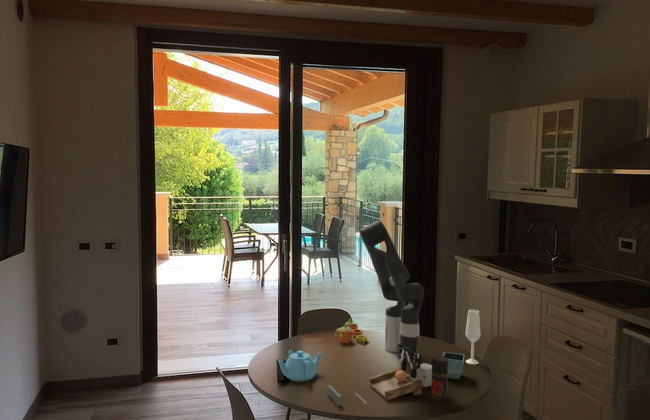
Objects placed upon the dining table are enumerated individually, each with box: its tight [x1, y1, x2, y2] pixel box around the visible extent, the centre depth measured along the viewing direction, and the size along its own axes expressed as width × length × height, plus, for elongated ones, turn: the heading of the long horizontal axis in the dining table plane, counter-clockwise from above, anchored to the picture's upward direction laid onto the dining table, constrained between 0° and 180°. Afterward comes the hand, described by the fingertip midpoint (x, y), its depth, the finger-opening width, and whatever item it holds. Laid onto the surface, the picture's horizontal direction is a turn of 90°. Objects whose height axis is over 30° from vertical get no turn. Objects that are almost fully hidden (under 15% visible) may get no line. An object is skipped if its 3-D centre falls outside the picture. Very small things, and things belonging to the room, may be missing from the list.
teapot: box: [277, 349, 322, 382], centre depth 212 cm, size 15×15×11 cm
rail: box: [326, 384, 343, 407], centre depth 190 cm, size 1×11×4 cm, turn 21°
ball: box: [395, 370, 407, 382], centre depth 200 cm, size 4×4×4 cm
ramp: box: [368, 367, 423, 401], centre depth 200 cm, size 16×14×6 cm
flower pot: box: [442, 351, 465, 380], centre depth 214 cm, size 9×9×9 cm
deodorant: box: [430, 355, 448, 401], centre depth 194 cm, size 6×6×15 cm
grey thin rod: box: [353, 392, 369, 405], centre depth 194 cm, size 1×15×1 cm, turn 22°
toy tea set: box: [334, 318, 370, 345], centre depth 266 cm, size 26×16×10 cm, turn 10°
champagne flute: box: [464, 309, 482, 365], centre depth 231 cm, size 7×7×24 cm
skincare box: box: [414, 362, 432, 388], centre depth 207 cm, size 6×6×7 cm
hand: (408, 374), depth 202 cm, fingers open, 7 cm apart
